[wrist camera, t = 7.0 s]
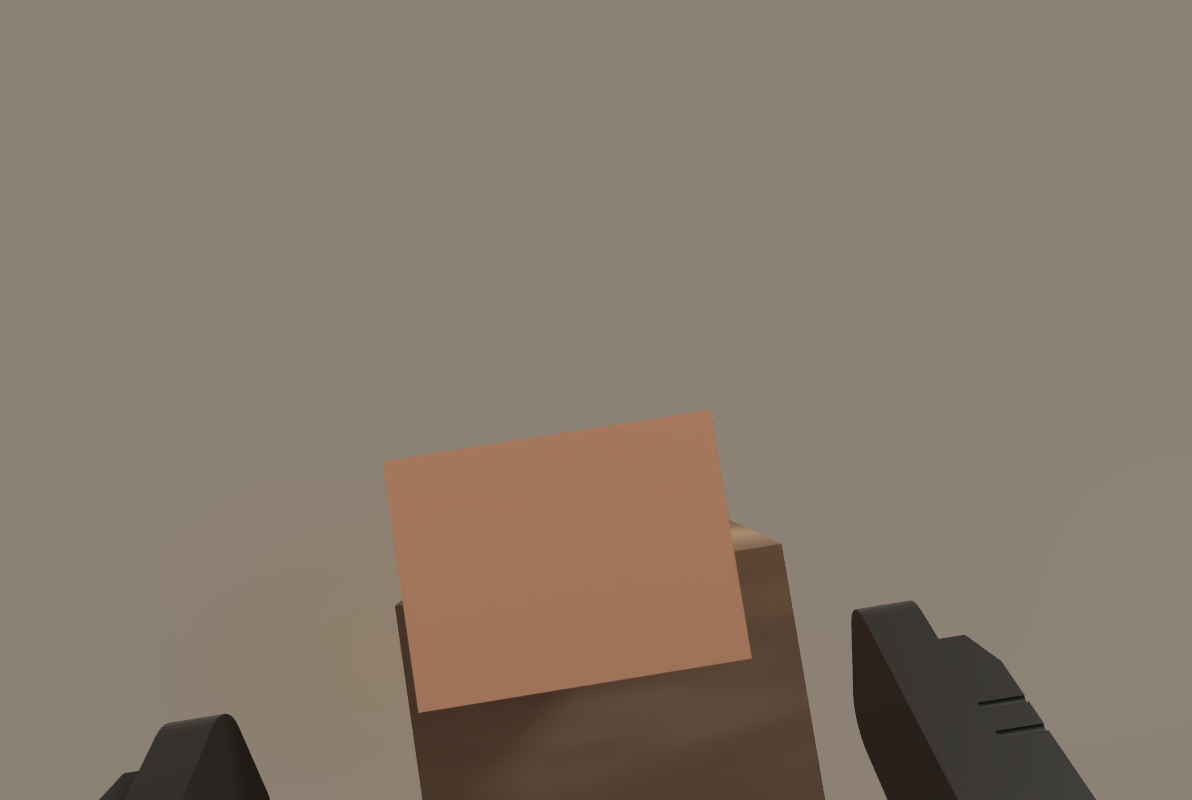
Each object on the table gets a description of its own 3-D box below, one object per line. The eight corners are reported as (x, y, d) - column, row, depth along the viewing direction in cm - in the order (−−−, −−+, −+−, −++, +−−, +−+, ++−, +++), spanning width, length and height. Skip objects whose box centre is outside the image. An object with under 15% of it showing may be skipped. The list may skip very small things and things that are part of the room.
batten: (537, 535, 34) (525, 458, 35) (639, 519, 35) (626, 442, 35) (418, 713, 11) (382, 461, 11) (751, 658, 11) (710, 409, 11)
